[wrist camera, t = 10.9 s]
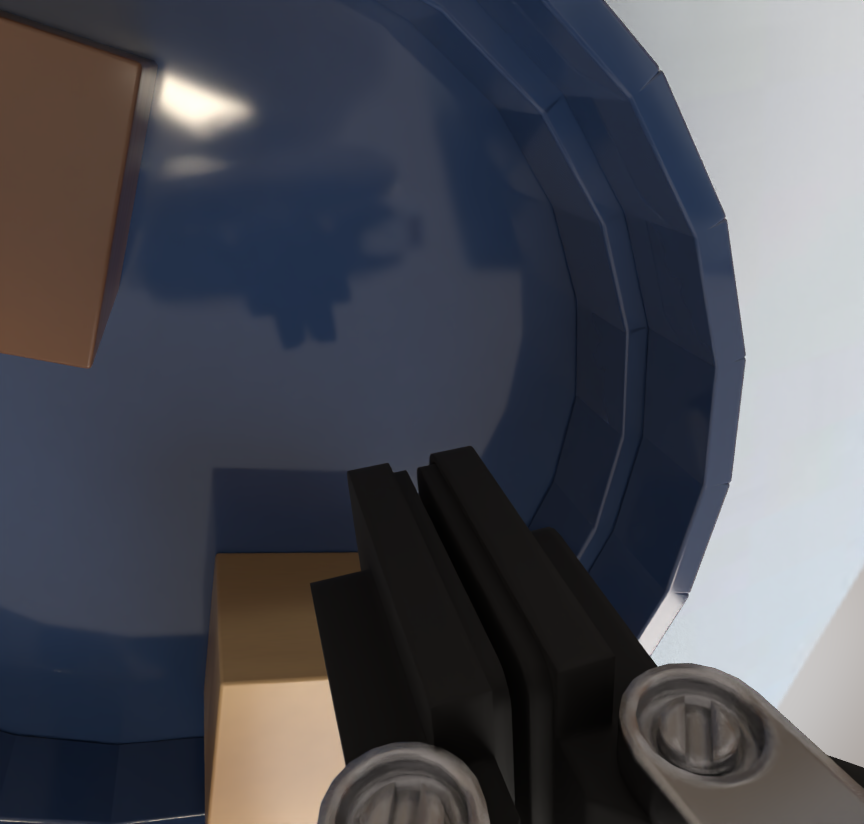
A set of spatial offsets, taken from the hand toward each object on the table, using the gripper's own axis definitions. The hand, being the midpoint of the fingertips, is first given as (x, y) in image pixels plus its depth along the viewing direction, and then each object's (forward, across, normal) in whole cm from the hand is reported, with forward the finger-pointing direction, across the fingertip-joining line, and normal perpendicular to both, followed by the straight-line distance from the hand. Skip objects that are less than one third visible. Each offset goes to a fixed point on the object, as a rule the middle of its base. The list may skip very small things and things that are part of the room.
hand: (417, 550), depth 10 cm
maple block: (+6, +2, +6) cm, 9 cm away
